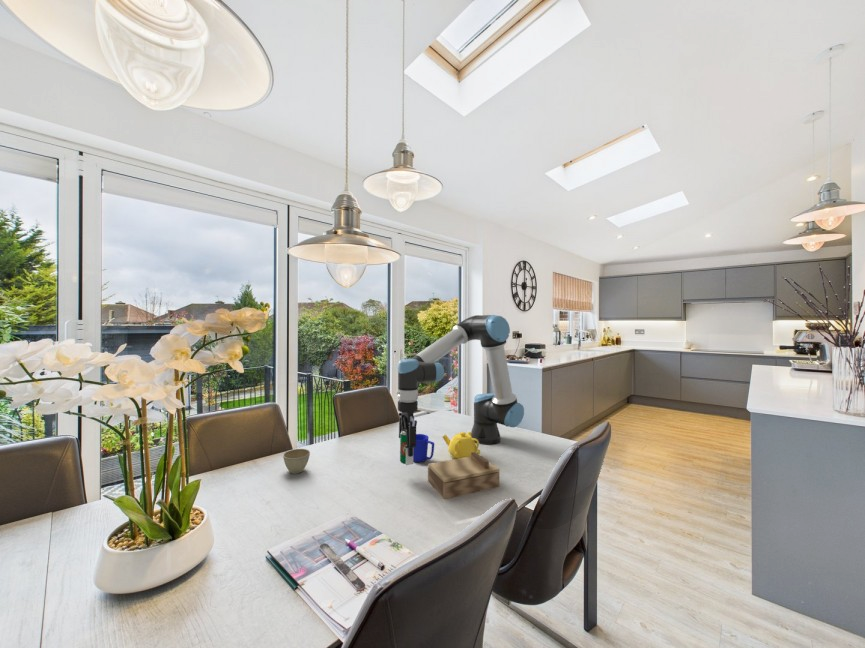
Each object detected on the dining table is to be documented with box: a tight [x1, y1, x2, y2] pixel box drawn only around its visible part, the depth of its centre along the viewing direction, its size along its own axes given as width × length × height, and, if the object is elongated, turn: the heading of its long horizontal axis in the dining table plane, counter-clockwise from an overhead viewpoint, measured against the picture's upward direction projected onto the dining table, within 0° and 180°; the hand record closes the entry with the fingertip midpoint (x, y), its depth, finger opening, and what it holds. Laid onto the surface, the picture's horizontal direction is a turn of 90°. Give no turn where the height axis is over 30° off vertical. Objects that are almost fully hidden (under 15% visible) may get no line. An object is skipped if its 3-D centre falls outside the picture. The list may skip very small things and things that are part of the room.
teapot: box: [442, 431, 481, 460], centre depth 157 cm, size 14×14×11 cm
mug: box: [413, 433, 435, 463], centre depth 152 cm, size 8×12×10 cm
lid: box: [427, 452, 500, 483], centre depth 129 cm, size 22×14×3 cm, turn 114°
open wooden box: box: [427, 466, 500, 500], centre depth 129 cm, size 22×14×6 cm, turn 114°
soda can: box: [399, 429, 414, 465], centre depth 134 cm, size 5×5×12 cm
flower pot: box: [282, 448, 311, 475], centre depth 141 cm, size 10×10×7 cm
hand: (406, 461), depth 134 cm, fingers closed on soda can, 5 cm apart
